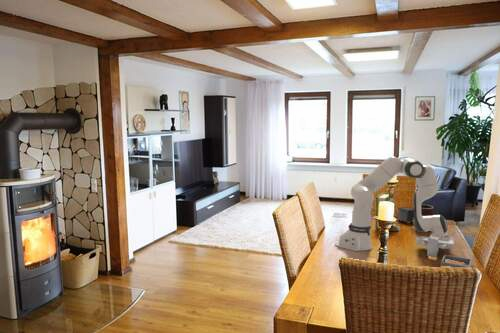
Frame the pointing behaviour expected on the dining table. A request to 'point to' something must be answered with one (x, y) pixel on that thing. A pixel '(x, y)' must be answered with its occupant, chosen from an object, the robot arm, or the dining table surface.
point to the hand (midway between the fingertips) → (433, 246)
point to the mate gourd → (426, 210)
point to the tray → (467, 261)
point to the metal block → (432, 246)
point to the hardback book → (381, 198)
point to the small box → (405, 214)
